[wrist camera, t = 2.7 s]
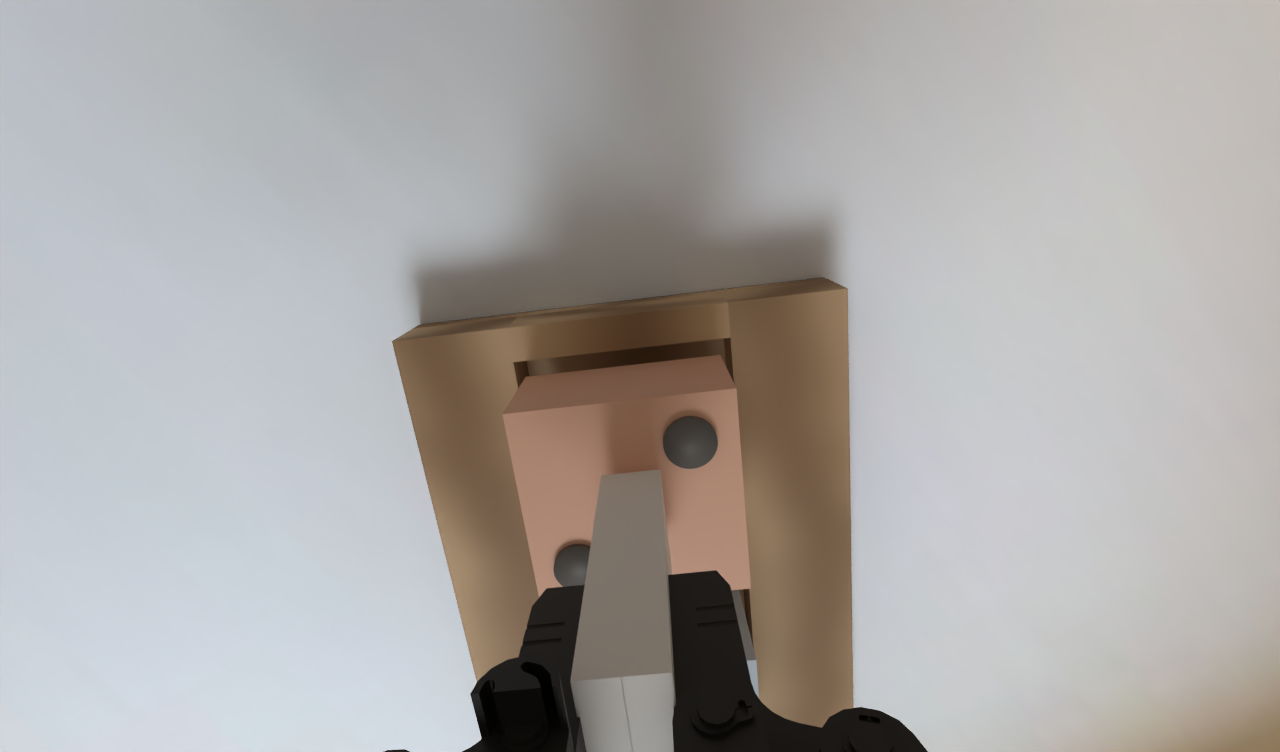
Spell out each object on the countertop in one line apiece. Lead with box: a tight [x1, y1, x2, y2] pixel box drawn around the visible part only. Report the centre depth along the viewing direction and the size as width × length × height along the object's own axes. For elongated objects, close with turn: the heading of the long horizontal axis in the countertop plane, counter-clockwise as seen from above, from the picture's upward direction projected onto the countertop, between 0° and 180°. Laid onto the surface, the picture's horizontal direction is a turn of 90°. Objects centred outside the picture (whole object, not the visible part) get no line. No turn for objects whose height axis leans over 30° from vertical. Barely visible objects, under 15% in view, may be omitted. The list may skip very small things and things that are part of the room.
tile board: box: [392, 278, 853, 728], centre depth 23 cm, size 14×26×2 cm, turn 7°
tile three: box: [502, 355, 751, 597], centre depth 17 cm, size 6×6×3 cm
